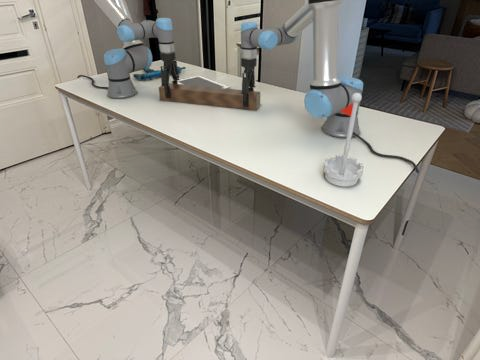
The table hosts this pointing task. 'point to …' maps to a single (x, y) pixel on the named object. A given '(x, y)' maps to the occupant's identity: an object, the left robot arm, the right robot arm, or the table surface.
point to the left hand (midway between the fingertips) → (172, 95)
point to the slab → (210, 96)
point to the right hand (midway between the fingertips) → (248, 103)
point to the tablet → (201, 82)
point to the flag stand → (345, 155)
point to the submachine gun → (152, 73)
